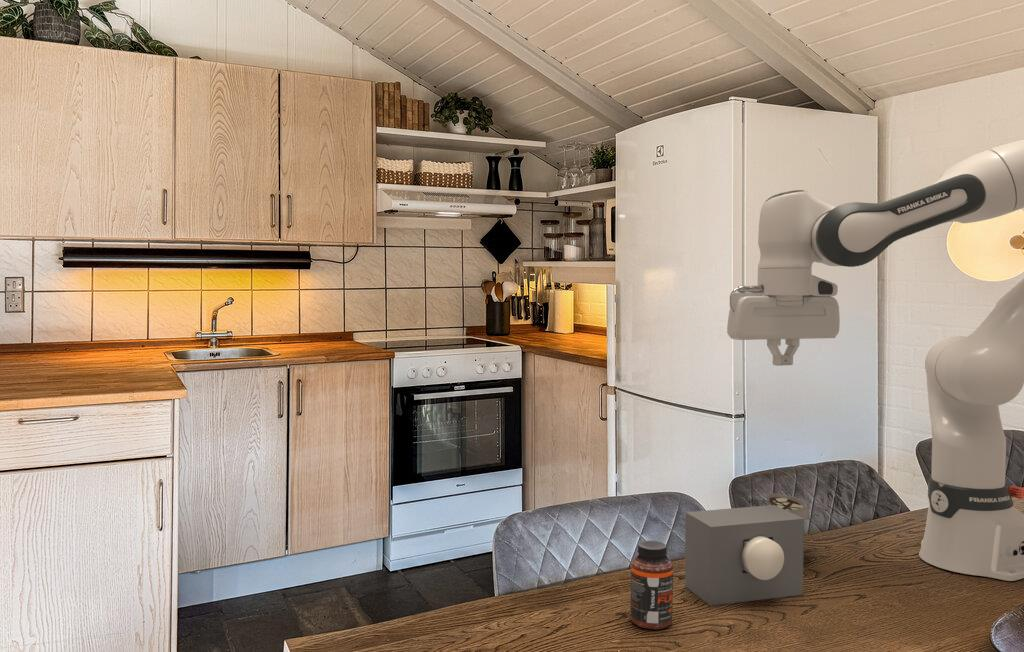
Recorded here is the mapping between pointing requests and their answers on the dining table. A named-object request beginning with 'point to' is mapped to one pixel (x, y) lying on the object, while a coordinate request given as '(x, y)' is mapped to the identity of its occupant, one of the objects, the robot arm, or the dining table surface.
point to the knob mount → (720, 553)
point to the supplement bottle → (651, 586)
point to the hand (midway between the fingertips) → (782, 365)
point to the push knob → (762, 557)
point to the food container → (789, 504)
